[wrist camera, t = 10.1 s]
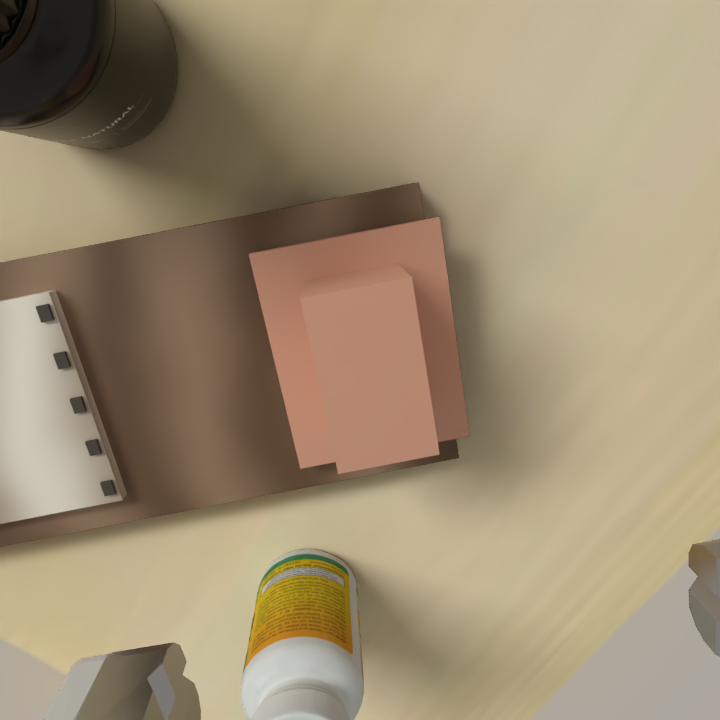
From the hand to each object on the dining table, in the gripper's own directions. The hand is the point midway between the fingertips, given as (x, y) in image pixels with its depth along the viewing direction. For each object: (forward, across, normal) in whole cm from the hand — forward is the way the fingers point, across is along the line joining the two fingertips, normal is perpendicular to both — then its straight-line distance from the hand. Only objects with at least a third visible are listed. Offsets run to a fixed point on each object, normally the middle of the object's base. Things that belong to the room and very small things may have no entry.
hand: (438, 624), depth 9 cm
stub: (+17, 0, 0) cm, 17 cm away
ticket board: (+19, +11, 0) cm, 21 cm away
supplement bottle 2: (+19, +6, +14) cm, 24 cm away
